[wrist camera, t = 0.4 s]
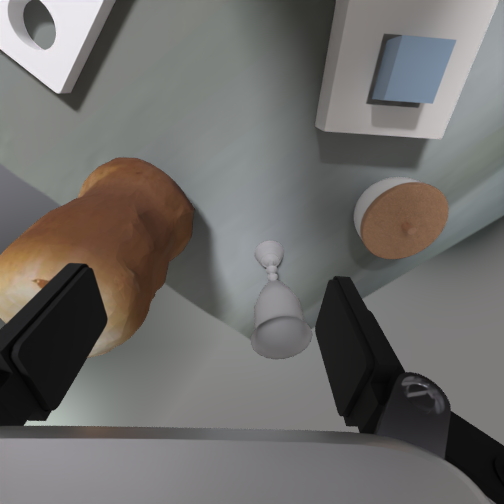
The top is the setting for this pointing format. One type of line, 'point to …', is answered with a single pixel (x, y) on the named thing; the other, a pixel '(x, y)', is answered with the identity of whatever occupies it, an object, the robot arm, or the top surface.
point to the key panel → (370, 57)
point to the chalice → (277, 311)
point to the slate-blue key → (412, 68)
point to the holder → (66, 43)
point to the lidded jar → (400, 217)
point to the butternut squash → (105, 244)
